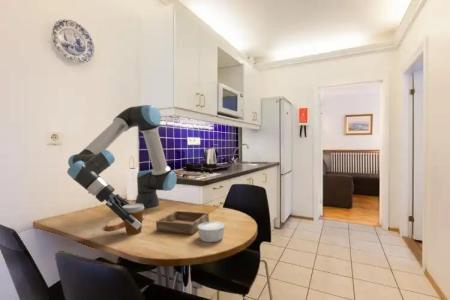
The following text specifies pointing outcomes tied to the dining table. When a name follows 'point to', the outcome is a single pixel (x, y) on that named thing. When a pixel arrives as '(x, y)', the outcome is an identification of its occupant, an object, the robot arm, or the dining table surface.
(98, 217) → the dining table surface
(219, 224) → the ramekin
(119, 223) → the bread slice
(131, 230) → the disposable coffee cup
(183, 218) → the open wooden box
